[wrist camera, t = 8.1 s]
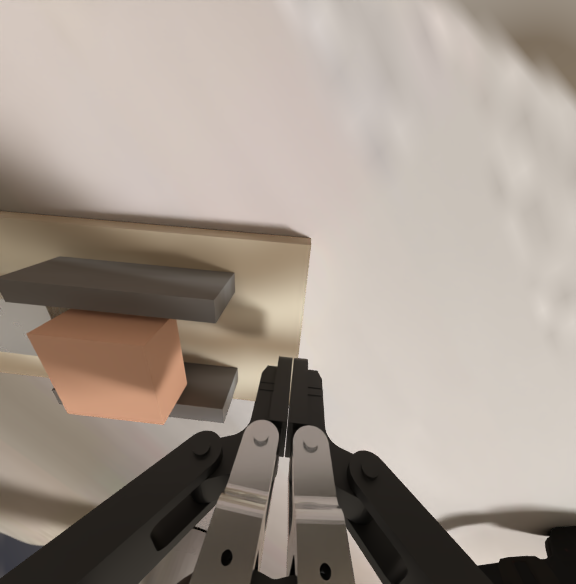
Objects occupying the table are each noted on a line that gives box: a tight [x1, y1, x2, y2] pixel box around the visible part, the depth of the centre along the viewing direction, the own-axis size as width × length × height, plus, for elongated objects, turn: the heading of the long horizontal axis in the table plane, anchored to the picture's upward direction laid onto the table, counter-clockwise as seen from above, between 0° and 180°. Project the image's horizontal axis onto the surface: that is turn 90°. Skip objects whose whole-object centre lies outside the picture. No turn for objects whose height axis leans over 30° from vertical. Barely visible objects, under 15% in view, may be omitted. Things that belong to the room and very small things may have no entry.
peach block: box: [26, 309, 187, 425], centre depth 12 cm, size 5×5×3 cm
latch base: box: [0, 211, 311, 423], centre depth 15 cm, size 12×37×5 cm, turn 86°
